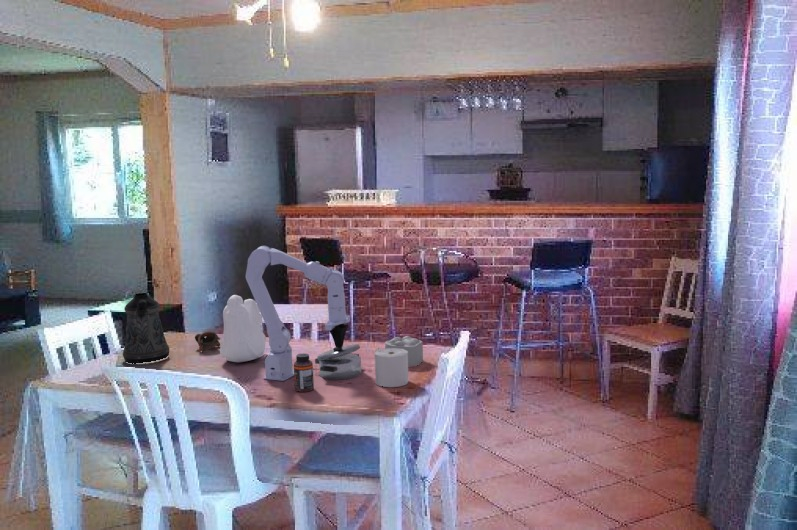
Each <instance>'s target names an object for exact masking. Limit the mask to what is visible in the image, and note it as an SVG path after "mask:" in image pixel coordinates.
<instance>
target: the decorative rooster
mask: <svg viewBox="0 0 797 530" xmlns="http://www.w3.org/2000/svg"><path fill="white" fill-rule="evenodd" d="M222 318H223V319H222V320H223V335H222V339H221V342H222V343H220V347H219V348H220V349H219V354H220V356H221V357H222V358H225V359H226V361H228V362H232V363H244V362H248V361H253V360H256V359H259V358H260V357H262V356H264V353H265V350H266V339H267V336H266V335H265V334H264V332H263V330H264V329H263V317H262V315H261V313H260V310H259V308H258V306H257V303H256V301H255V299H254V298H253V299H252V298H248V299H244V300H243V297H242V296H240V295H237V294H233V295H231V296H230V297H229V298H228V299H227V302H226V305H225V307H224V308H223V311H222Z"/></svg>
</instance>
